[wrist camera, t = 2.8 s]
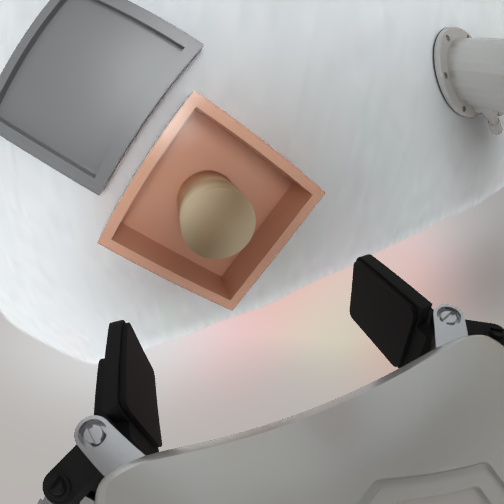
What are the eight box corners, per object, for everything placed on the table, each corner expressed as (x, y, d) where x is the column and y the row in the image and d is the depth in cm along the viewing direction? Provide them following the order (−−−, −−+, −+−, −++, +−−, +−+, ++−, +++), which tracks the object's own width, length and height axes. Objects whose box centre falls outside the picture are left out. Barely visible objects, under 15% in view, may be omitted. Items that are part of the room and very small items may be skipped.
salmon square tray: (301, 179, 27) (325, 192, 23) (222, 283, 29) (232, 310, 25) (189, 95, 21) (194, 90, 17) (107, 221, 23) (97, 243, 20)
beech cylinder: (247, 191, 25) (270, 213, 20) (213, 237, 26) (227, 270, 21) (199, 158, 23) (210, 173, 18) (165, 208, 24) (166, 237, 19)
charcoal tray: (201, 49, 19) (203, 44, 18) (103, 189, 22) (98, 195, 21) (76, -17, 13) (71, -25, 11) (-12, 119, 15) (-22, 121, 14)
